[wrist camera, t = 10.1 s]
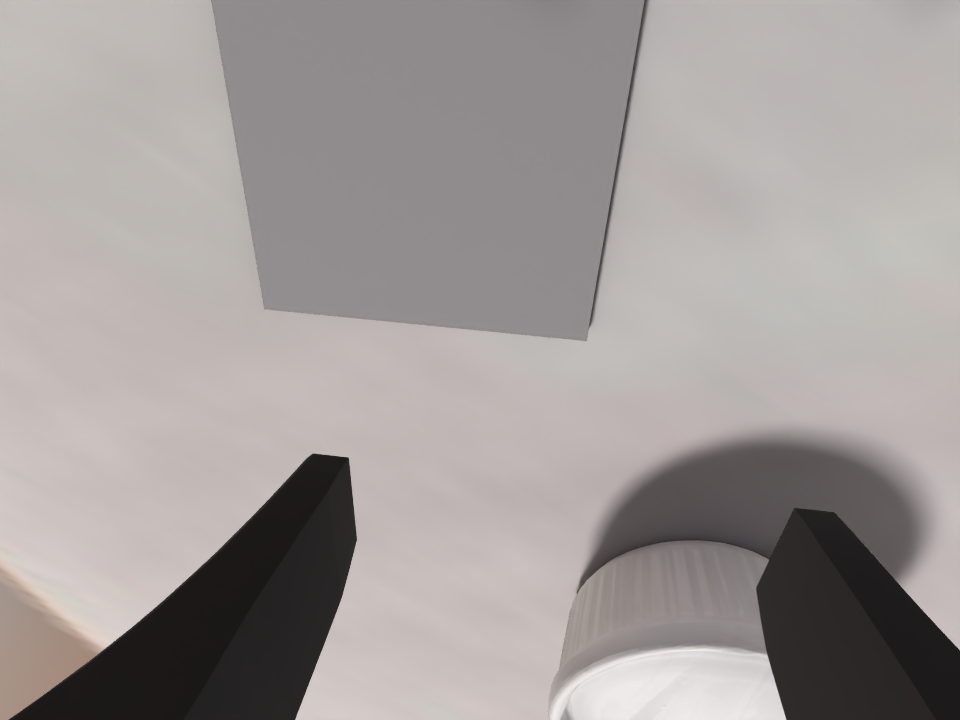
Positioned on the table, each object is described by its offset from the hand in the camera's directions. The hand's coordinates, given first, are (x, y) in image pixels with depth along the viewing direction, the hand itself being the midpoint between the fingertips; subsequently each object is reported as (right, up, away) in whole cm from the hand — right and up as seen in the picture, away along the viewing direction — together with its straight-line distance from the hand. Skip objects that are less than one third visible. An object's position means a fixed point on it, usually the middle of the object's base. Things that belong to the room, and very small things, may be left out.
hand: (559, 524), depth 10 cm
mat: (-3, +8, +6) cm, 11 cm away
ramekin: (+7, -7, +16) cm, 19 cm away
